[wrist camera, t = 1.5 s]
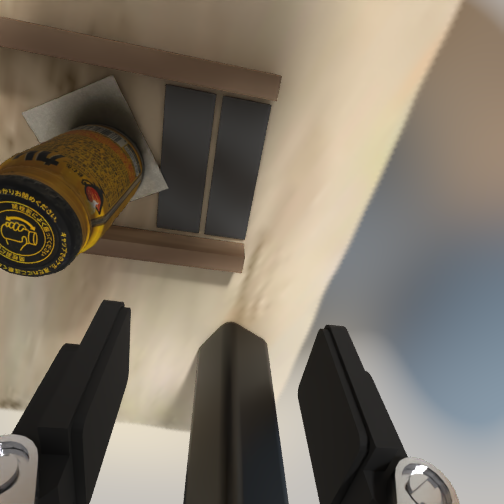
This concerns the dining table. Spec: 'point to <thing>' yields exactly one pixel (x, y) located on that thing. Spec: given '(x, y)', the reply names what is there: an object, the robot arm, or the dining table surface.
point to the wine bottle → (234, 424)
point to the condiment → (72, 179)
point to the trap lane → (180, 145)
